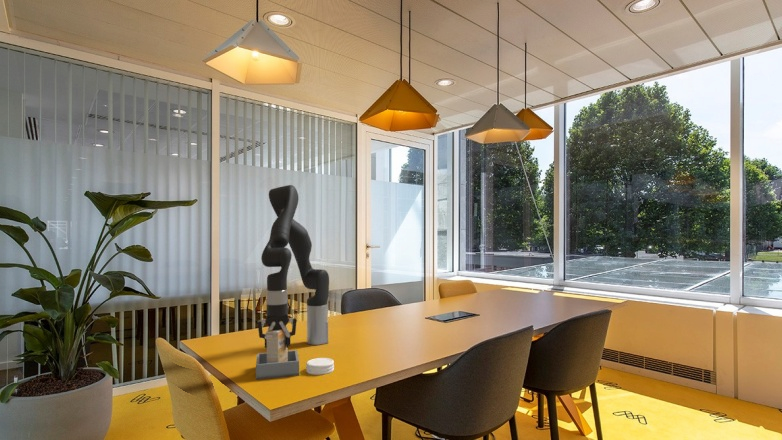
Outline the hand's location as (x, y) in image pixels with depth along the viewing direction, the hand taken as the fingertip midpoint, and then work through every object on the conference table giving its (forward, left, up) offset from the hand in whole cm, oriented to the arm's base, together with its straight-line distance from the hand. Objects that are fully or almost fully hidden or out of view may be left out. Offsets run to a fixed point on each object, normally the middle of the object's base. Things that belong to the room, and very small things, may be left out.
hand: (277, 347), depth 159 cm
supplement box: (0, 0, -6) cm, 6 cm away
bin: (0, 0, -8) cm, 8 cm away
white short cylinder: (-15, +4, -9) cm, 18 cm away
